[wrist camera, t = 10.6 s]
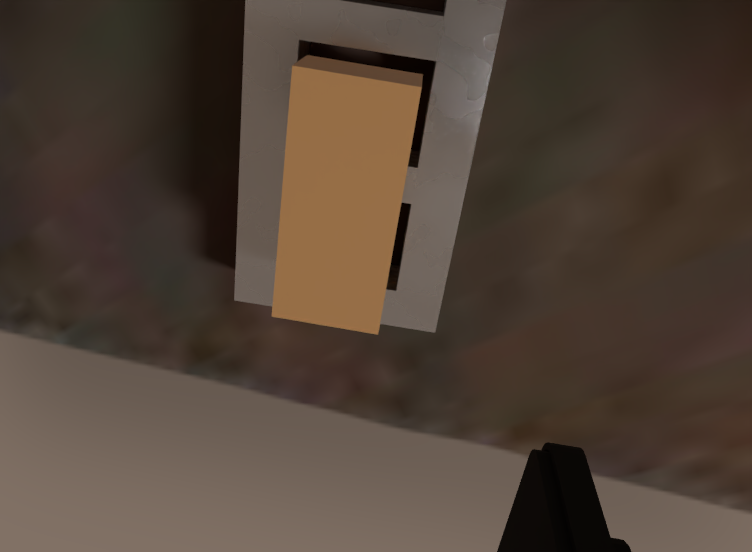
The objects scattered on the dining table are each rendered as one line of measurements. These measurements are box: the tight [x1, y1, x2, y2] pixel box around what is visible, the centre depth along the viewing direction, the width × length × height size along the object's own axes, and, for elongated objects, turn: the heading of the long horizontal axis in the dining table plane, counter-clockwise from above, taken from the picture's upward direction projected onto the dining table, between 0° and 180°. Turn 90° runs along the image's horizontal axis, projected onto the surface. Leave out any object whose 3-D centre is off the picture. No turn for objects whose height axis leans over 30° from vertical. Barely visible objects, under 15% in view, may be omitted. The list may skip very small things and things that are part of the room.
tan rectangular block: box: [272, 55, 423, 334], centre depth 24 cm, size 4×9×6 cm, turn 172°
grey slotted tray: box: [234, 0, 506, 333], centre depth 23 cm, size 9×24×2 cm, turn 172°
